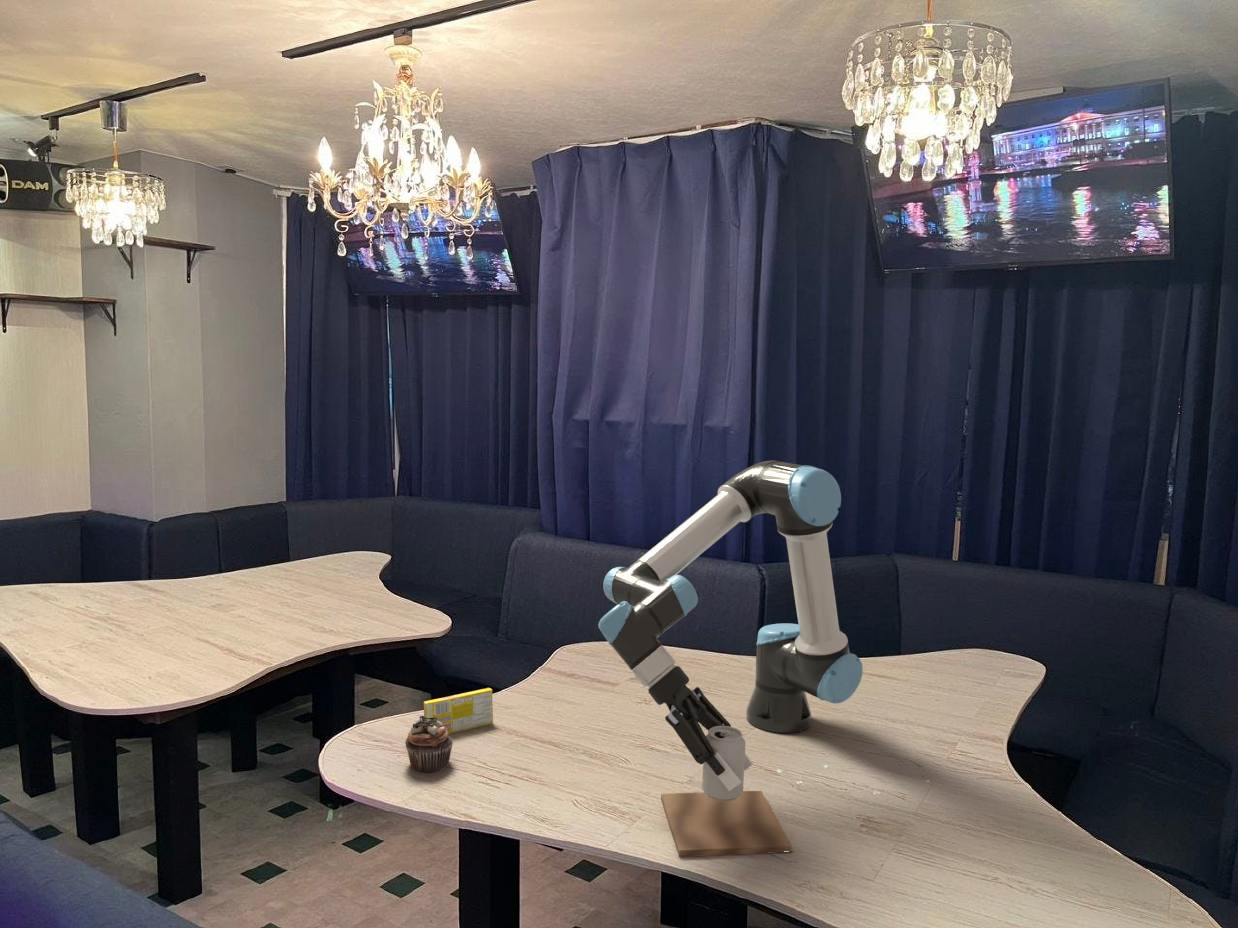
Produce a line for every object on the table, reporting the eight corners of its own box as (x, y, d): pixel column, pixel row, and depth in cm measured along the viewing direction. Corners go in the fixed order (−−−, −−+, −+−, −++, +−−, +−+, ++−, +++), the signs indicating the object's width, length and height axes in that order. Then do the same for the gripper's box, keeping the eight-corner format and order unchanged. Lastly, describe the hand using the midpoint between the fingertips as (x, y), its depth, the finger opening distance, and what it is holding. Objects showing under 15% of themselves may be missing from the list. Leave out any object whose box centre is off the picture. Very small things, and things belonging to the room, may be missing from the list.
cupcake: (450, 774, 184) (450, 727, 183) (402, 775, 184) (401, 727, 182) (455, 753, 194) (455, 709, 193) (409, 754, 193) (409, 709, 192)
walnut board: (761, 796, 178) (761, 790, 178) (791, 852, 159) (791, 845, 159) (660, 799, 176) (661, 793, 176) (678, 856, 156) (679, 850, 156)
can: (698, 784, 170) (701, 723, 168) (738, 783, 171) (741, 722, 169) (705, 804, 162) (708, 740, 161) (746, 803, 163) (750, 740, 162)
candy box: (489, 720, 211) (489, 686, 210) (493, 724, 210) (493, 689, 209) (423, 735, 203) (423, 700, 201) (426, 739, 201) (426, 703, 200)
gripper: (666, 670, 180) (742, 765, 175) (626, 706, 161) (709, 812, 157) (693, 649, 177) (770, 744, 173) (655, 682, 158) (740, 790, 154)
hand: (741, 776), depth 165 cm, fingers closed on can, 7 cm apart
